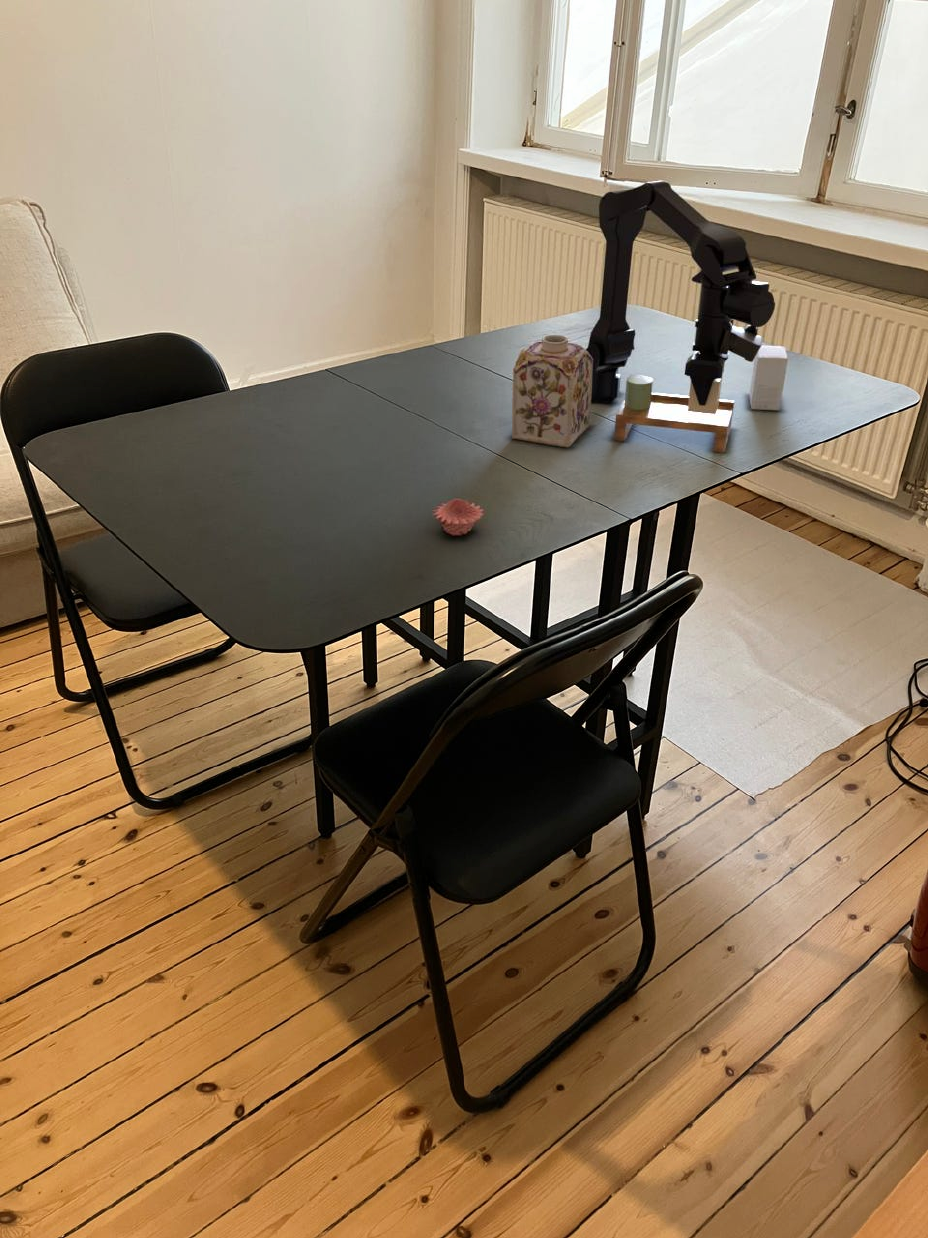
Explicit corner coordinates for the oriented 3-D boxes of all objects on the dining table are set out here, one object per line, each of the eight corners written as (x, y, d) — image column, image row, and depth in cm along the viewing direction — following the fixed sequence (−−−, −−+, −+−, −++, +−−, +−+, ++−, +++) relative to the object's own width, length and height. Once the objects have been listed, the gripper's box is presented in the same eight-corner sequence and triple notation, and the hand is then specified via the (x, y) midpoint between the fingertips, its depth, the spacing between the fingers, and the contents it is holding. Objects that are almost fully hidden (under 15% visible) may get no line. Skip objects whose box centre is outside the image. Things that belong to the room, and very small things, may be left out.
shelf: (613, 440, 185) (616, 410, 182) (624, 418, 194) (627, 389, 191) (724, 452, 180) (728, 422, 177) (730, 430, 189) (734, 400, 185)
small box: (779, 411, 196) (788, 358, 191) (750, 409, 197) (758, 357, 191) (777, 397, 203) (785, 345, 197) (748, 395, 204) (756, 344, 198)
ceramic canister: (622, 408, 185) (624, 382, 182) (627, 399, 189) (629, 374, 186) (648, 411, 184) (650, 385, 181) (652, 402, 187) (655, 376, 185)
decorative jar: (591, 426, 191) (596, 332, 181) (570, 449, 182) (575, 351, 172) (532, 417, 195) (535, 325, 185) (509, 439, 186) (510, 343, 176)
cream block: (687, 411, 180) (691, 379, 176) (690, 401, 184) (694, 369, 180) (715, 414, 178) (719, 381, 175) (718, 404, 182) (722, 372, 179)
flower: (460, 516, 160) (460, 484, 157) (494, 533, 155) (494, 501, 152) (422, 531, 156) (421, 499, 153) (455, 550, 151) (455, 517, 148)
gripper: (759, 332, 162) (745, 423, 170) (767, 301, 177) (754, 387, 185) (689, 326, 165) (679, 416, 173) (703, 297, 180) (693, 381, 188)
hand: (704, 399), depth 180 cm, fingers closed on cream block, 5 cm apart
